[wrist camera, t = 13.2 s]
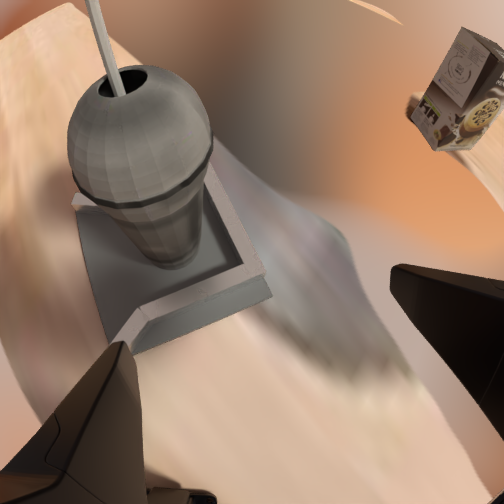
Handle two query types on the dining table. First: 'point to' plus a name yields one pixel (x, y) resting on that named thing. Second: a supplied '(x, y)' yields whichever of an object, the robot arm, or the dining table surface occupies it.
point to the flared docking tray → (200, 291)
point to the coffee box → (463, 94)
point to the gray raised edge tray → (158, 278)
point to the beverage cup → (143, 153)
